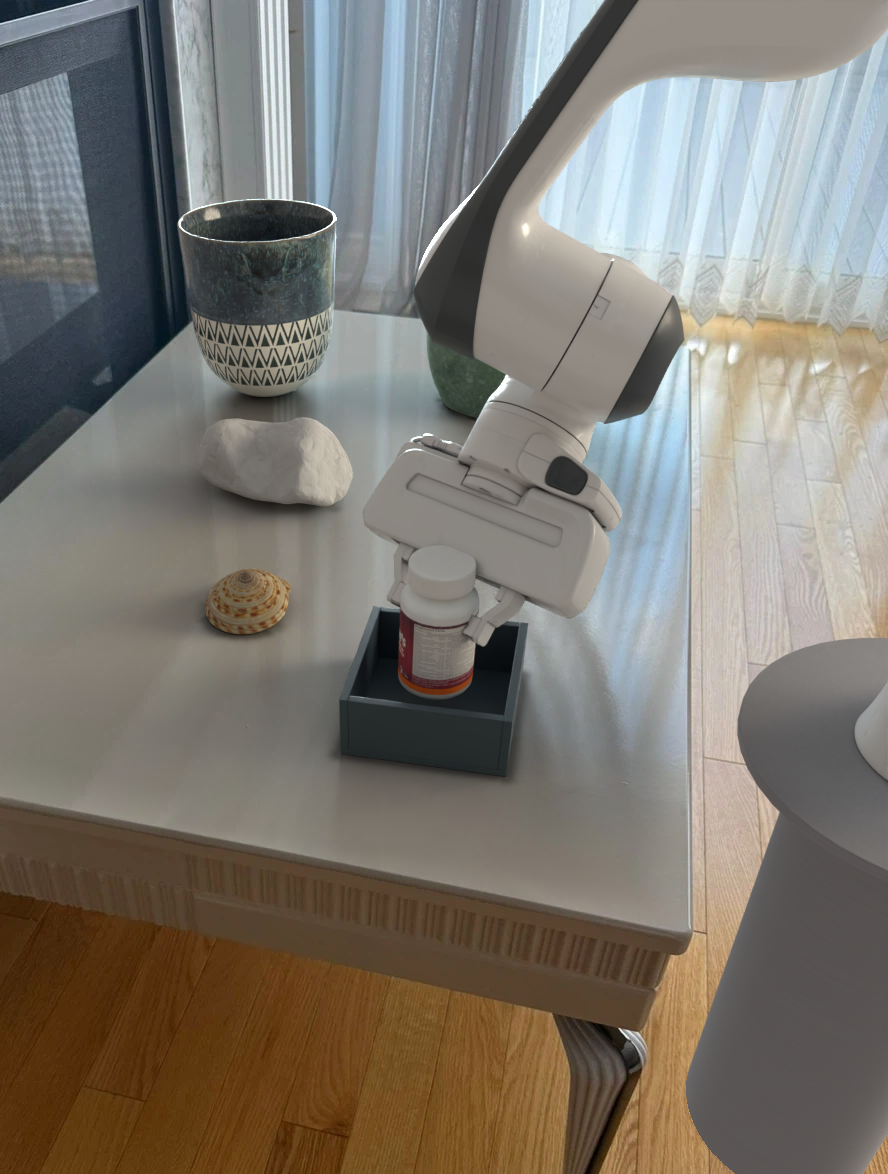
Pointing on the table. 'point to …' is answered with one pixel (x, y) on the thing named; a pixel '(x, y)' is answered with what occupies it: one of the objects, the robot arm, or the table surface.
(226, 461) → the decorative stone
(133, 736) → the table surface
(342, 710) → the bin
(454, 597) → the pill bottle
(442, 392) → the sculpture
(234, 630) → the seashell
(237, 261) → the planter
